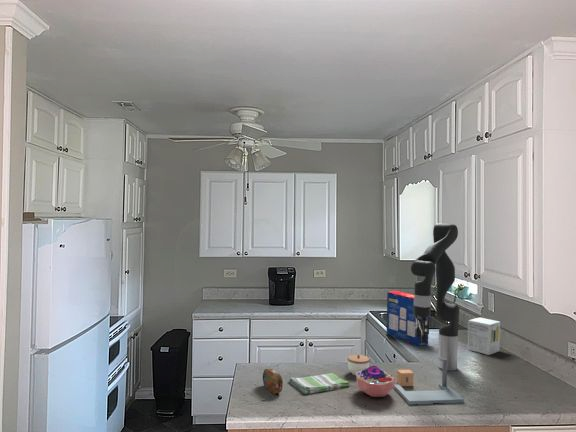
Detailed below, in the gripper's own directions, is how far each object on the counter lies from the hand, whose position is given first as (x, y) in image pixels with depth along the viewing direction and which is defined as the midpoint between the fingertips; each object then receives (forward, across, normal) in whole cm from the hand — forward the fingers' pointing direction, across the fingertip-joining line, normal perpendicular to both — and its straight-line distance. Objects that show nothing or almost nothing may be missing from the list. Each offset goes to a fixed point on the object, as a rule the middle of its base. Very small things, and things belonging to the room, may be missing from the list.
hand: (421, 340), depth 207 cm
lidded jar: (+22, -16, -26) cm, 37 cm away
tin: (+22, +6, -67) cm, 71 cm away
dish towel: (+23, -2, -46) cm, 51 cm away
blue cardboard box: (+22, -79, +14) cm, 83 cm away
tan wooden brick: (+22, -4, -6) cm, 23 cm away
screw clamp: (+22, +8, +1) cm, 23 cm away
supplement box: (+22, -59, +54) cm, 83 cm away
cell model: (+22, +8, -22) cm, 33 cm away
